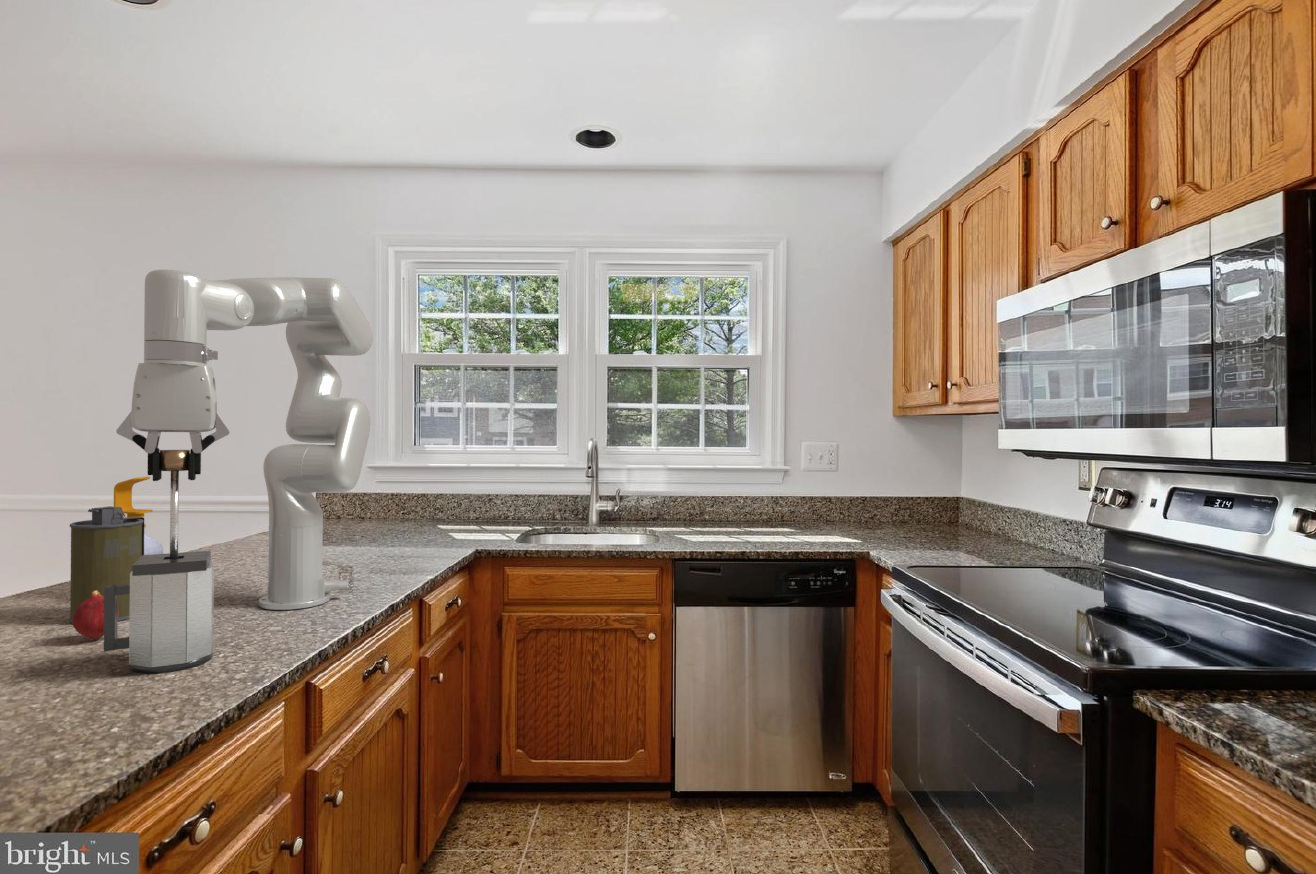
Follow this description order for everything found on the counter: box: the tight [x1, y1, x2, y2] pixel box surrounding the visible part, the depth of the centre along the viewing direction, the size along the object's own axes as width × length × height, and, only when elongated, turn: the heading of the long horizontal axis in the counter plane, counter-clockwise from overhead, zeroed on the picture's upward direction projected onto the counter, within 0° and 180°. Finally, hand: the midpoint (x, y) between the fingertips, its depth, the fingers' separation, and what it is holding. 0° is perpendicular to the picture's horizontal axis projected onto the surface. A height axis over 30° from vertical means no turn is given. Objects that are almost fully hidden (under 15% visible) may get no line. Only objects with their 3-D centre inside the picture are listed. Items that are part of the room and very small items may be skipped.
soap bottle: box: [113, 476, 164, 555], centre depth 136 cm, size 9×9×25 cm
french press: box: [103, 550, 215, 675], centre depth 99 cm, size 13×10×16 cm
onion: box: [71, 591, 119, 641], centre depth 109 cm, size 6×6×8 cm
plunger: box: [159, 449, 191, 559], centre depth 100 cm, size 7×7×20 cm
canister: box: [68, 506, 145, 624], centre depth 122 cm, size 11×10×20 cm
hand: (174, 478), depth 100 cm, fingers closed on plunger, 3 cm apart
